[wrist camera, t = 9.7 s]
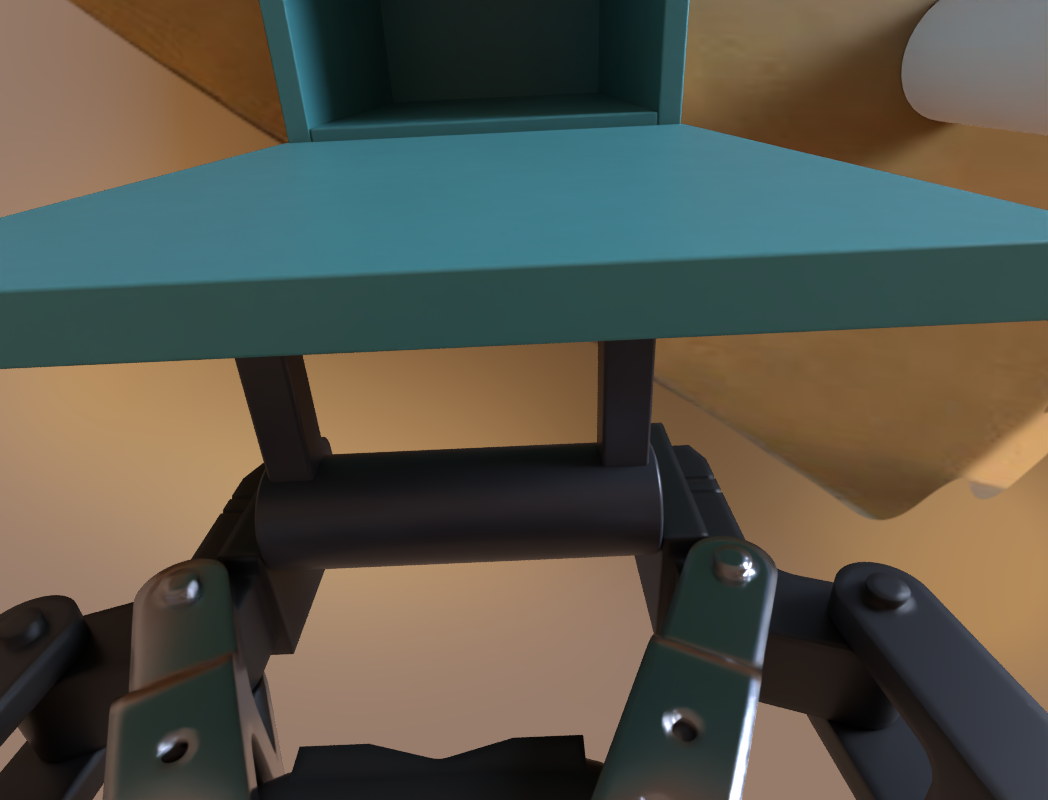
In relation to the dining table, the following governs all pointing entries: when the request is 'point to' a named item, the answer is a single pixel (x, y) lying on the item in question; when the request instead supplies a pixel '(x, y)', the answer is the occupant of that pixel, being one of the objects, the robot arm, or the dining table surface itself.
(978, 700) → the robot arm
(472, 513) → the cool box lid
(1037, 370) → the dining table surface
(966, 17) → the cylindrical container
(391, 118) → the teal open box
